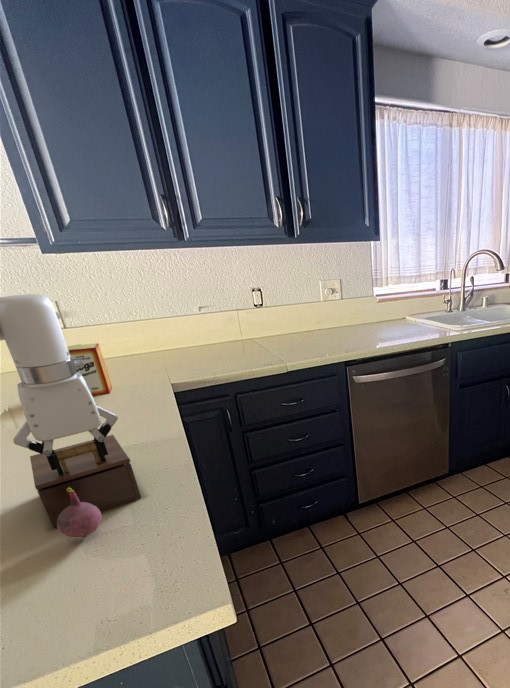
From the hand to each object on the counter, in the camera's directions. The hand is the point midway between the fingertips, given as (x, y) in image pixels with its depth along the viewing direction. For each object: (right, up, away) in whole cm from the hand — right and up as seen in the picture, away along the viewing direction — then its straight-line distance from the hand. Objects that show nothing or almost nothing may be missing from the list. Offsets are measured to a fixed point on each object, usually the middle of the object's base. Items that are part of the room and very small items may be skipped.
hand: (81, 464), depth 79 cm
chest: (-3, -7, +8) cm, 11 cm away
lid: (-3, 0, +4) cm, 5 cm away
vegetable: (+4, -13, -4) cm, 14 cm away
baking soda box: (-42, +19, +66) cm, 80 cm away
